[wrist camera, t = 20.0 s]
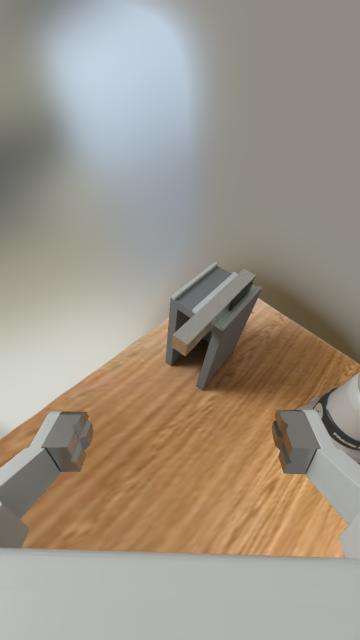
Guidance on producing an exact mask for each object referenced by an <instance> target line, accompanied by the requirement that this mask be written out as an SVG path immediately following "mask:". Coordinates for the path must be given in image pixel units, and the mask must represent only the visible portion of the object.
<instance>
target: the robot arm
mask: <svg viewBox="0 0 360 640" xmlns="http://www.w3.org/2000/svg"><path fill="white" fill-rule="evenodd" d="M88 417H89V416H88V414H87V412H64V411H53V412H50V413H49V414H48V415H47V417H46V419H45V420H44V422H43V424H42V426H41V427H40V429H39V431H38V433H37V434H36V436H35V438H34V440H33V441H32V443H31V445H30V447H29V448H25V449H24V450H22V451H21V452H20V453H19V454H17V455H16V456H15V457H14V458H12V459H11V460H10V461H9V462H7V463H6V464H5V465H4V466H2V467H1V468H0V640H360V372H359V373H357V374H356V375H354V376H353V377H352V378H350V379H349V380H348V381H346V382H345V383H344V384H342V385H341V386H340V387H338V388H334V389H332V390H331V391H328V392H327V393H326V394H324V395H322V396H320V397H313V398H312V399H310V401H309V402H308V403H307V404H306V405H303V406H301V407H299V408H297V409H296V410H277V411H276V413H275V418H276V420H275V421H274V422H273V425H272V434H273V439H274V443H275V446H276V447H277V448H278V449H279V450H280V453H279V459H280V463H281V466H282V469H283V472H284V473H286V474H306V476H307V477H308V479H309V480H310V481H311V482H312V483H313V484H314V485H315V487H316V488H317V489H318V490H319V491H320V492H321V494H322V495H323V496H324V497H325V498H326V499H327V501H328V502H329V503H330V504H331V505H332V506H333V507H334V509H335V510H336V511H337V512H338V513H339V514H340V516H341V517H342V518H343V519H344V520H345V521H346V523H347V524H348V526H347V527H346V528H345V530H344V531H343V532H342V533H341V535H340V537H339V540H340V543H341V546H342V548H343V551H344V553H345V556H346V558H332V557H298V556H264V555H231V554H197V553H163V552H130V551H96V550H63V549H29V548H22V545H23V543H24V541H25V538H26V536H27V534H28V531H29V530H28V527H27V526H26V525H25V524H24V523H23V522H22V521H21V520H20V519H21V518H22V516H23V515H24V514H25V513H26V512H27V511H28V510H29V509H30V507H31V506H32V505H33V504H34V503H35V502H36V501H37V500H38V498H39V497H40V496H41V495H42V494H43V493H44V492H45V491H46V489H47V488H48V487H49V486H50V485H51V484H52V483H53V482H54V480H55V479H56V478H57V477H58V476H59V475H60V474H61V472H81V469H82V466H83V463H84V461H85V458H86V453H85V449H86V448H87V447H88V446H90V444H91V441H92V437H93V426H92V423H91V422H89V421H88Z"/></svg>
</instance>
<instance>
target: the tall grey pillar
mask: <svg viewBox="0 0 360 640" xmlns="http://www.w3.org/2000/svg"><path fill="white" fill-rule="evenodd" d="M237 275H238V274H237V273H235V272H234V273H233V274H231V273H229V272H227V271H225V270H223V269H222V268H220V267H218V266H217V263H216V262H214V263H213V264H211V265H210V266H209V267H208V268H206V269H205V270H204V271H203V272H202V273H200V274H199V275H197V276H196V277H195V278H194V279H192V280H191V281H190V282H188V283H187V284H186V285H185V286H183V287H182V288H181V289H180V290H178V291H177V292H176V293H174V294H173V295H172V297H171V302H170V314H169V327H168V339H167V352H166V363H167V364H169V365H170V366H172V365H173V364H174V363H175V362H176V361H177V360H178V358H179V357H180V356H181V355H182V354H181V353H180V352H178V351H177V350H175V349H174V348H173V347H172V338H173V334H174V333H175V332H176V331H177V330H178V329H179V328H181V327H182V326H183V325H184V324H185V323H186V322H187V321H188V320H189V319H190V318H191V317H192V316H194V315H195V314H196V313H197V312H198V311H199V310H200V309H201V308H202V307H203V306H204V305H205V304H207V303H208V302H209V301H210V300H211V299H212V298H213V297H214V296H215V295H216V294H217V293H218V292H220V291H221V290H222V289H223V288H224V287H225V286H226V285H227V284H228V283H229V282H230V281H231V280H233V279H234V278H235V277H236V276H237ZM261 288H262V287H261V286H259V285H258V286H257V287H256V286H254V285H252V287H251V289H250V291H249V292H248V293H247V295H246V296H245V297H244V298H243V299H242V300H241V301H240V302H239V303H238V304H237V305H236V306H235V307H234V308H233V309H232V310H231V311H228V312H227V313H226V314H225V315H224V316H223V317H222V318H221V320H220V321H219V322H218V323H217V324H216V325H215V326H214V327H213V328H212V329H211V330H210V331H209V332H208V333H207V334H206V335H205V336H204V337H203V338H202V339H203V340H205V341H206V342H208V343H209V346H208V349H207V353H206V356H205V359H204V362H203V365H202V369H201V372H200V375H199V378H198V381H197V385H196V386H197V387H198V388H200V389H201V390H203V389H204V387H205V386H206V385H207V384H208V382H209V381H210V380H211V379H212V377H213V376H214V375H215V374H216V372H217V371H218V370H219V369H220V368H221V366H222V365H223V364H224V363H225V361H226V360H227V359H228V358H229V356H230V355H231V354H232V353H233V350H234V348H235V346H236V344H237V342H238V340H239V337H240V335H241V333H242V331H243V329H244V327H245V324H246V322H247V320H248V318H249V316H250V314H251V312H252V309H253V307H254V305H255V303H256V301H257V299H258V296H259V294H260V292H261Z"/></svg>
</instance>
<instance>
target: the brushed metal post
mask: <svg viewBox="0 0 360 640" xmlns="http://www.w3.org/2000/svg"><path fill="white" fill-rule="evenodd" d="M255 277H256V275H254V274H252V273H251V272H249V271H247V270H245V269H243V270H242V271H241V272H240V273H239V274H238V275H237V276H236V277H235V278H234V279H233V280H231V281H230V282H229V283H228V284H227V285H226V286H225V287H224V288H223V289H222V290H221V291H220V292H218V293H217V294H216V295H215V296H214V297H213V298H212V299H211V300H210V301H209V302H208V303H207V304H205V305H204V306H203V307H202V308H201V309H200V310H199V311H198V312H197V313H196V314H195V315H194V316H192V317H191V318H190V319H189V320H188V321H187V322H186V323H185V324H184V325H183V326H182V327H181V328H179V329H178V330H177V331H176V332H175V333H174V334H173V338H172V347H173V348H174V349H175V350H177V351H178V352H180V353H181V354H182V355H184V356H186V355H187V354H188V353H189V352H190V351H191V350H192V349H193V348H194V347H195V346H196V345H197V344H198V342H199V341H200V340H201V339H202V338H203V337H204V336H205V335H206V334H207V333H208V332H209V331H210V330H211V329H212V328H213V327H214V326H215V325H216V324H217V323H218V322H219V321H220V320H221V318H222V317H223V316H224V315H225V314H226V313H227V312H228V311H231V310H232V309H233V308H234V307H235V306H236V305H237V304H238V303H239V302H240V301H241V300H242V299H243V298H244V297H245V296H246V295H247V293H248V292H249V291H250V289H251V287H252V284H253V282H254V279H255Z"/></svg>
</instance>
